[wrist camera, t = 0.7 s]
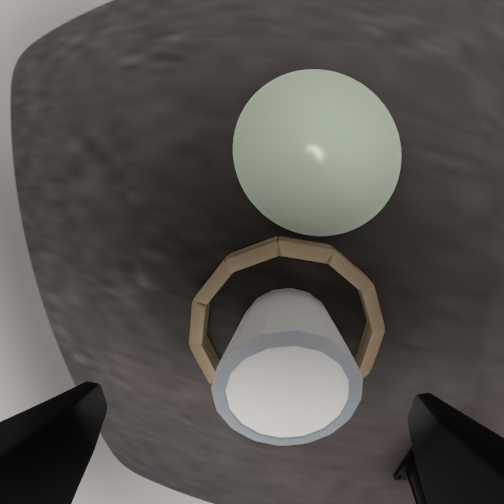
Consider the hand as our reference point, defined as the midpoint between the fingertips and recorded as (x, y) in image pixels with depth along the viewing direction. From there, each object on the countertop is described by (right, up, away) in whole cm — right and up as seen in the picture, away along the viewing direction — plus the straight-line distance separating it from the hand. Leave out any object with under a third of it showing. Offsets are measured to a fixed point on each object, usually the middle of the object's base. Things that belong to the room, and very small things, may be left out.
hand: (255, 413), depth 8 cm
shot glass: (+2, -1, +12) cm, 12 cm away
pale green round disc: (+4, +10, +9) cm, 14 cm away
